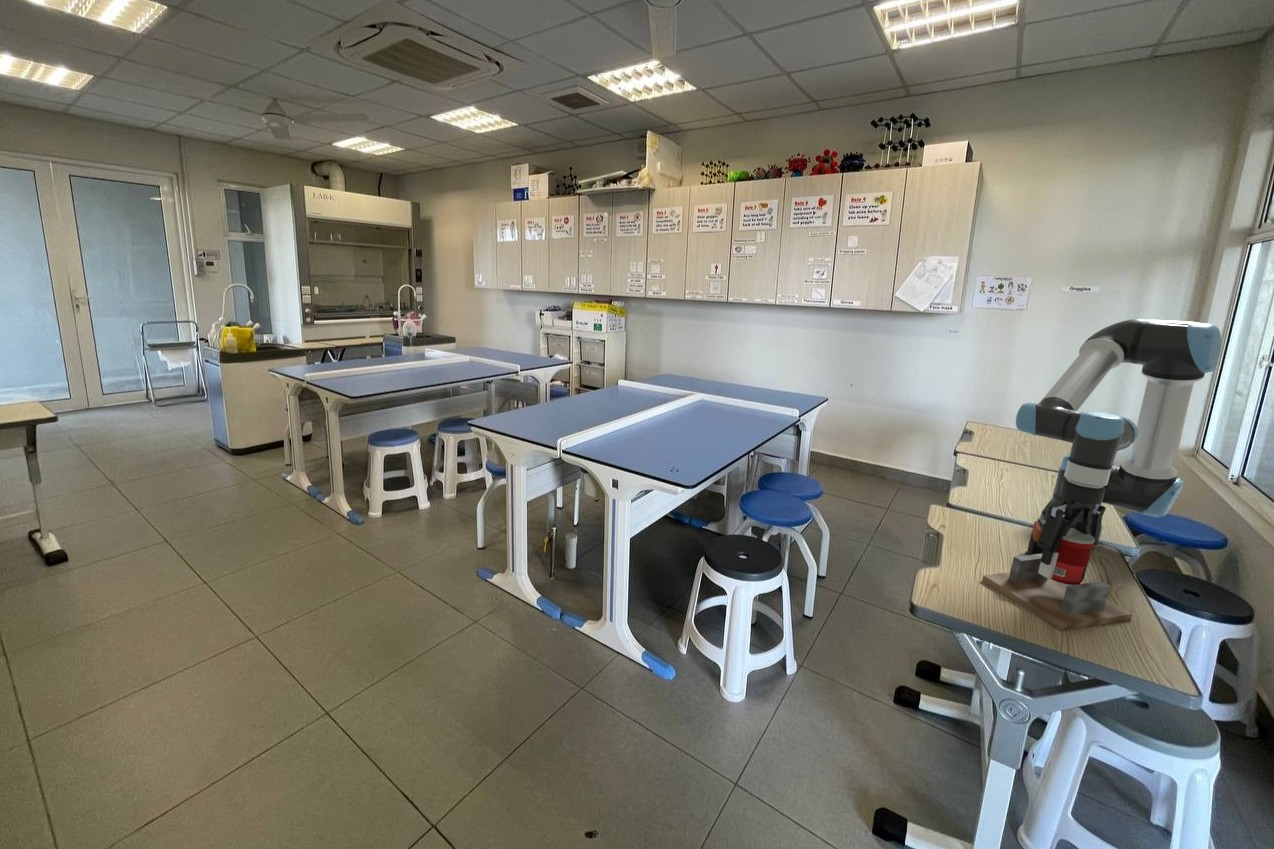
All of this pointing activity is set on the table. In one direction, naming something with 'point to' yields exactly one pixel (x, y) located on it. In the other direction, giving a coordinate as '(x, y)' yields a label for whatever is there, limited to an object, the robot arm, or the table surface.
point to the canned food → (1073, 557)
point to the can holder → (1056, 596)
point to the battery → (1036, 538)
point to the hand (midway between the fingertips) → (1059, 574)
